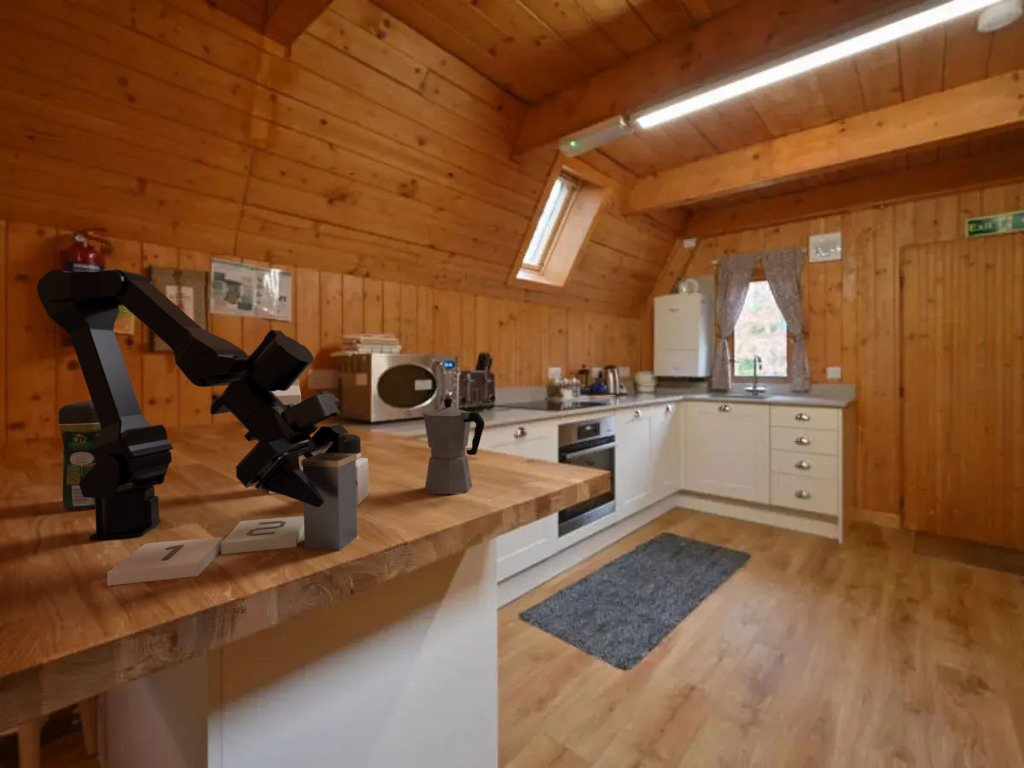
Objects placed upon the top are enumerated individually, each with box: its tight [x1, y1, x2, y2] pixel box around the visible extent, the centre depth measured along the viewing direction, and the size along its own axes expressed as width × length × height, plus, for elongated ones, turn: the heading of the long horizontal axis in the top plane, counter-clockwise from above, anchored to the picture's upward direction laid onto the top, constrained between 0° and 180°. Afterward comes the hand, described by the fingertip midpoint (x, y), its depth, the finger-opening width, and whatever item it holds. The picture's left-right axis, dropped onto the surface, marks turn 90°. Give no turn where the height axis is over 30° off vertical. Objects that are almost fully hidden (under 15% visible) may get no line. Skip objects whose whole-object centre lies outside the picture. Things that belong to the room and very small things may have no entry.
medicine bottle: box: [344, 433, 370, 507], centre depth 86 cm, size 7×7×12 cm
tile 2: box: [220, 515, 304, 555], centre depth 68 cm, size 9×9×2 cm
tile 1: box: [106, 536, 224, 587], centre depth 59 cm, size 9×9×2 cm
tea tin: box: [301, 453, 358, 552], centre depth 66 cm, size 5×5×12 cm
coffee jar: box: [57, 399, 101, 511], centre depth 86 cm, size 10×8×19 cm
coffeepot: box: [422, 397, 485, 495], centre depth 93 cm, size 15×9×18 cm, turn 55°
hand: (339, 494), depth 66 cm, fingers open, 9 cm apart
